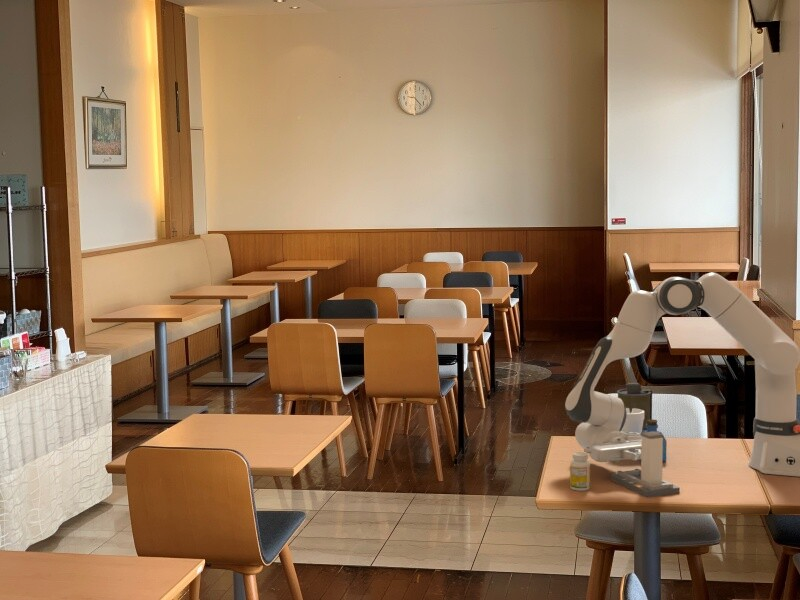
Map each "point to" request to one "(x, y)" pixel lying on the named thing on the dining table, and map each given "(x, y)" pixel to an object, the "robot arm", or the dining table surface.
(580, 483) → the supplement bottle
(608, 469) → the dining table surface
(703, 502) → the dining table surface
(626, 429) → the foam cup
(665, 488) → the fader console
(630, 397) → the canister
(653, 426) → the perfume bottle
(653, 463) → the cream rectangular block
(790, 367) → the robot arm
